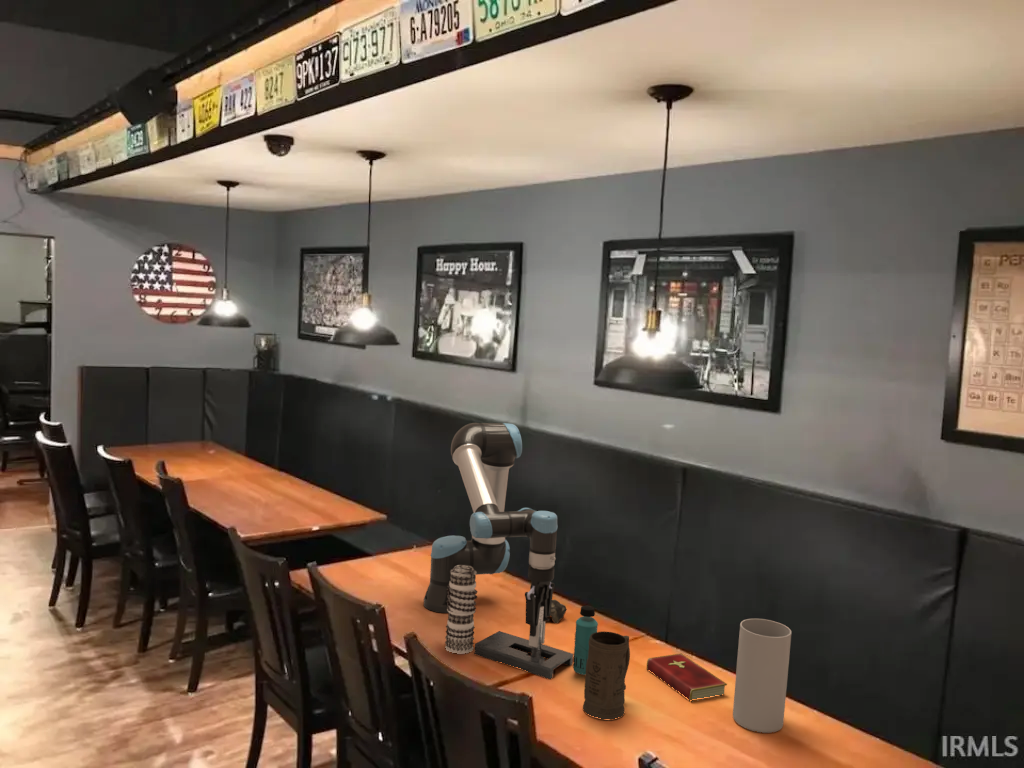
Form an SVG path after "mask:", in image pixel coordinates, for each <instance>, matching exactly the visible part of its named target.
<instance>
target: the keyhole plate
mask: <svg viewBox="0 0 1024 768" xmlns="http://www.w3.org/2000/svg"><path fill="white" fill-rule="evenodd" d="M512 647H513V648H512ZM515 648H516V649H515ZM518 649H519V650H518ZM521 650H522V651H521ZM531 650H532V646H530V645H529V639H527V638H523V637H519V636H517V635H513V634H510V633H507V632H504V631H500V630H499V631H497V632H496V631H495V632H494V633H492V634H490V635H489V636H487V637H485V638H482V640H479V641H477V642H476V643H474V653H473V654H474V655H475V654H476V656H479V657H482V658H485V659H488V660H490V659H491V660H490V661H493V662H496V661H498V662H497V663H499V662H502V663H505V664H508V665H511V666H514V667H518V668H521V669H523V670H526V671H528V672H527V673H529V674H533V675H535V676H538V677H541V678H544V677H545V679H547V678H548V680H552V679H553V678H554V670H555V669H557V668H558V667H560V666H561V665H567V666H569V667H571V666H573V663H574V662H573V657H574V655H573V654H574V652H573V653H571V652H568V651H566V650H563V649H559V648H557V647H553V646H550V645H547V644H541V656H542V657H545V661H543V660H540V659H537V658H534V657H531V656H530V655H529V654H531ZM525 651H526V652H525ZM528 652H529V653H528ZM547 658H548V659H547ZM502 663H501V664H502ZM505 664H504V665H505ZM508 665H507V666H508ZM511 666H510V667H511ZM514 667H513V668H514ZM523 670H522V671H523ZM526 671H525V672H526ZM551 678H552V679H551Z"/></svg>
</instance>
